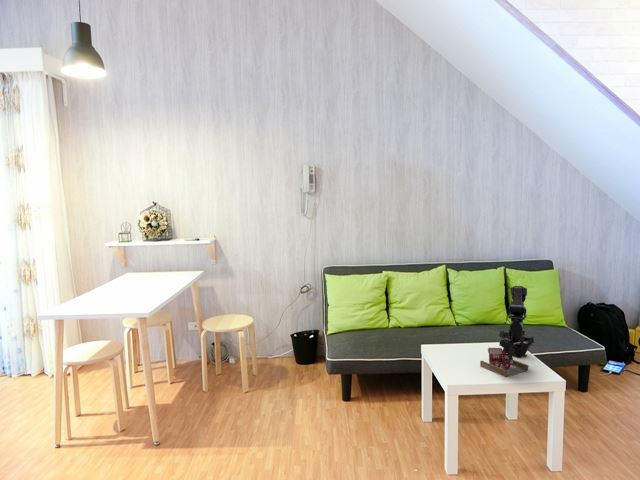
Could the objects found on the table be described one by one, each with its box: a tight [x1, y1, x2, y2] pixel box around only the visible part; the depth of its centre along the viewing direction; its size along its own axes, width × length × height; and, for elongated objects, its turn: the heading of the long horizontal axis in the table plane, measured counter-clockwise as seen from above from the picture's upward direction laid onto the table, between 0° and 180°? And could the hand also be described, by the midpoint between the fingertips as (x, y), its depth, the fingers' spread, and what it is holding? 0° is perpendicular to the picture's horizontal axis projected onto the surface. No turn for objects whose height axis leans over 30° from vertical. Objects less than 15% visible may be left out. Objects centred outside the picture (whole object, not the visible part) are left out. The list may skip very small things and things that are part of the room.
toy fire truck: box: [487, 347, 514, 370], centre depth 238 cm, size 7×12×10 cm, turn 80°
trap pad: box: [506, 367, 527, 377], centre depth 232 cm, size 13×6×1 cm, turn 116°
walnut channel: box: [479, 357, 529, 378], centre depth 237 cm, size 16×17×3 cm
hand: (516, 357), depth 229 cm, fingers open, 9 cm apart
